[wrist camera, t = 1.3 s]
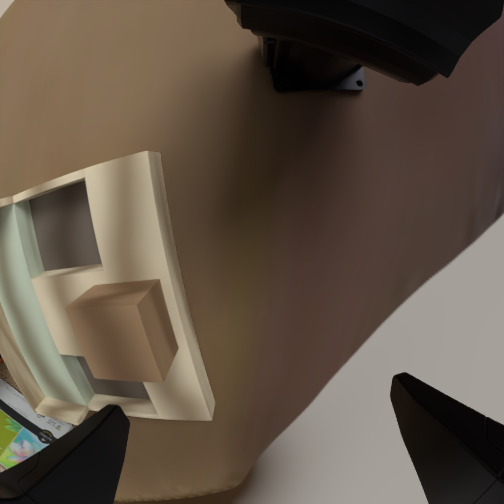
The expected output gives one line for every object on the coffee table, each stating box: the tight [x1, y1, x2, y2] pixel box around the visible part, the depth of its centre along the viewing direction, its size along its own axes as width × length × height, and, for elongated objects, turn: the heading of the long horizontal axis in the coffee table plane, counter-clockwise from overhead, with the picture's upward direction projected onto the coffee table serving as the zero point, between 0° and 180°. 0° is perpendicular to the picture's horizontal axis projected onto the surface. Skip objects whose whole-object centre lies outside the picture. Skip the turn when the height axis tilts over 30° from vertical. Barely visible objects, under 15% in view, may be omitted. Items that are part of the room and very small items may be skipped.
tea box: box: [0, 379, 73, 472], centre depth 21 cm, size 15×10×15 cm, turn 74°
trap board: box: [0, 151, 215, 425], centre depth 19 cm, size 21×22×5 cm
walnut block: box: [65, 279, 179, 383], centre depth 17 cm, size 6×6×4 cm
